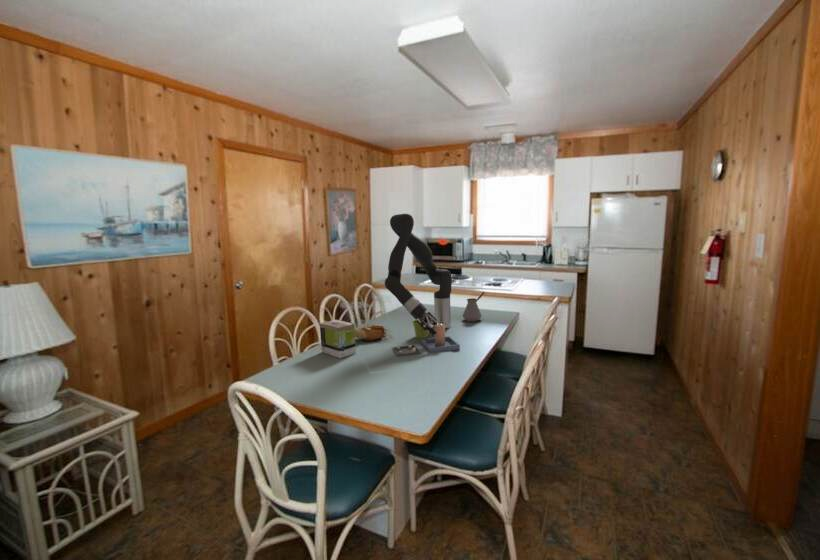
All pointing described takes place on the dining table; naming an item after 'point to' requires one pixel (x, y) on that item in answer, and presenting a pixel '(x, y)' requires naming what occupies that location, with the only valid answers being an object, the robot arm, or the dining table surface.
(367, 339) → the nautilus
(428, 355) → the dining table surface
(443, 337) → the tan rounded pillar
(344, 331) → the tea box
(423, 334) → the plant pot
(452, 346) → the shallow square tray
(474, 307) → the coffee pot
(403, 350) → the parts tray
